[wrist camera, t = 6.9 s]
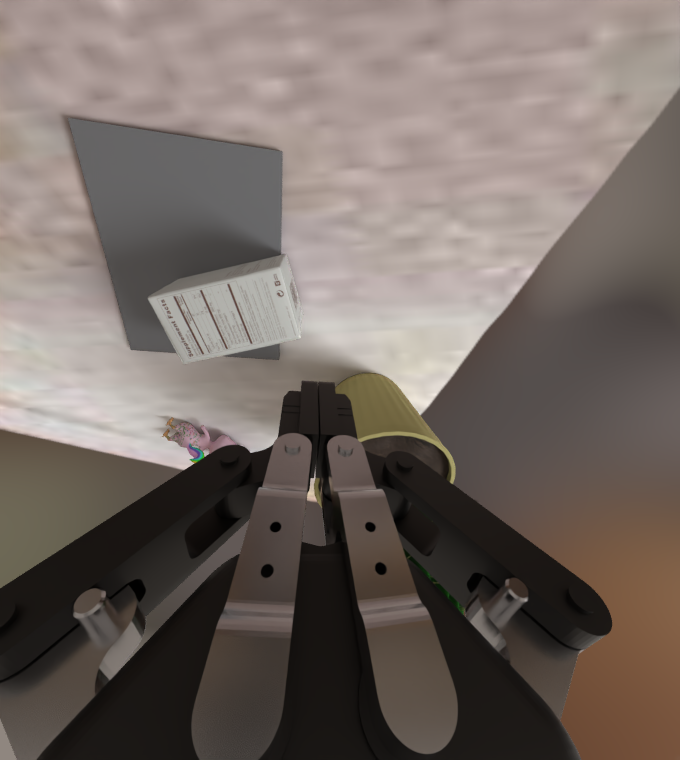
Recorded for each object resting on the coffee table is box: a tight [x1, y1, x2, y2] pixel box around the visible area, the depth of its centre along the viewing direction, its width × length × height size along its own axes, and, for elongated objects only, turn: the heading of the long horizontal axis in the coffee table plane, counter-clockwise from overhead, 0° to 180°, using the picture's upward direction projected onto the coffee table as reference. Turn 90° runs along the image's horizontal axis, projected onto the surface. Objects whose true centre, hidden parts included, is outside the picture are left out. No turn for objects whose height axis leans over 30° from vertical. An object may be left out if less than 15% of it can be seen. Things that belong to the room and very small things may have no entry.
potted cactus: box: [314, 373, 465, 614], centre depth 32 cm, size 15×15×30 cm
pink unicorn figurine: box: [162, 417, 236, 463], centre depth 44 cm, size 6×6×15 cm
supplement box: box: [148, 254, 303, 364], centre depth 31 cm, size 7×7×13 cm
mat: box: [68, 118, 282, 360], centre depth 32 cm, size 22×18×1 cm
